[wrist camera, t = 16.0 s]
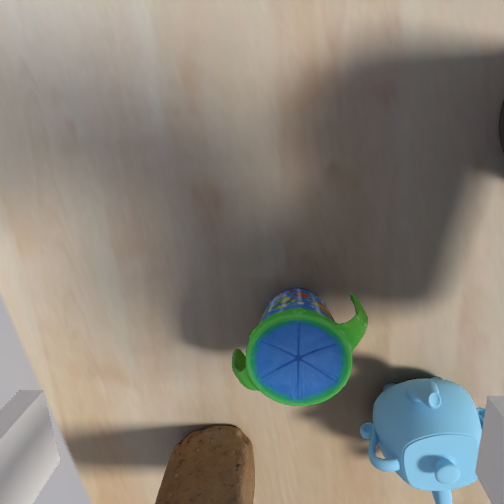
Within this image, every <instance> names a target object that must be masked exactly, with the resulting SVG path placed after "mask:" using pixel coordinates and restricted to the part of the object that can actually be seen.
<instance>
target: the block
mask: <svg viewBox="0 0 504 504" xmlns="http://www.w3.org/2000/svg"><path fill="white" fill-rule="evenodd" d="M254 488H255V467H254V456H253V447H252V444H251V441H250V440H249V438H248V437H246V436H245V434H244V433H243V432H242V430H241V429H239V428H237V427H232V426H213V427H209V428H206V429H204V430H198V431H195V432H192V433H190V434H189V435H187V437H186V438H185V439H184V440H182V441H181V442H180V443H179V444H177V445H176V447H175V448H174V450H173V452H172V455H171V457H170V460H169V462H168V465H167V468H166V471H165V474H164V477H163V480H162V483H161V486H160V489H159V492H158V496H157V499H156V503H155V504H253V498H254Z"/></svg>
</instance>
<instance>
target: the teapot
mask: <svg viewBox="0 0 504 504" xmlns="http://www.w3.org/2000/svg"><path fill="white" fill-rule="evenodd" d="M485 410H486V409H483V408H476V407H475V404H474V402H473V400H472V398H471V397H470V395H469V394H468V392H467V391H466V390H465V389H464V388H463V387H461V386H460V385H458V384H456V383H453V382H450V381H447V380H443V379H442V378H440V377H431V378H429V379H427V378H424V379H413V380H408V381H404V382H401V383H398V384H395V383H389V384H387V385H385V386H384V388H383V392H382V393H381V394H380V395H379V396H378V398H377V400H376V401H375V403H374V407H373V423H371V422H367V423H364V424H363V425H362V426H361V428H360V434H361V436H362V437H363V438H364V439H370V442H369V447H368V455H369V459H370V461H371V463H372V464H373V466H374V467H376V468H377V469H379V470H382V471H387V472H393V471H395V472H396V473H397V474H398V475H399V476H400V477H401V478H402V479H403V480H404V481H405V482H407V483H408V484H409V485H410V486H412V487H414V488H416V489H420V490H428V491H432V493H433V496H434V500H435V502H436V504H452V493H451V489H456V488H460V487H464V486H467V485H469V484H471V483H473V482H475V481H476V480H477V479H478V477H477V475H476V473H475V470H476V464H477V458H478V452H479V446H480V440H481V434H482V428H483V422H484V416H485ZM377 442H378V444H379V447H380V449H381V451H382V453H383V455H384V457H385V459H381V458H379V457H377V456H376V455H375V450H376V445H377Z"/></svg>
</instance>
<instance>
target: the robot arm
mask: <svg viewBox="0 0 504 504" xmlns="http://www.w3.org/2000/svg"><path fill="white" fill-rule="evenodd" d="M499 131H500V140H501V145H502V148H503V151H504V103H503V106H502V110H501V115H500V125H499ZM59 462H60V458H59V453H58V449H57V445H56V441H55V437H54V433H53V428H52V424H51V420H50V416H49V411H48V407H47V403H46V399H45V395H44V391H43V390H20V391H19V392H18V393H17V394H16V395H15V396H14V397H13V398H12V399H11V400H10V401H9V402H8V403H7V404H6V405H5V406H4V407H3V408H2V409H1V410H0V504H33V502H34V501H35V499H36V498H37V496H38V494H39V493H40V491H41V490H42V488H43V487H44V485H45V484H46V482H47V481H48V479H49V477H50V476H51V474H52V473H53V471H54V470H55V468H56V467H57V465H58V464H59ZM475 473H476V475H477V477H478V479H479V481H480V482H481V484H482V486H483V488H484V490H485V492H486V494H487V496H488V497H489V499H490V501H491V503H492V504H504V396H488V398H487V404H486V410H485V416H484V422H483V428H482V434H481V440H480V446H479V452H478V458H477V464H476V470H475Z"/></svg>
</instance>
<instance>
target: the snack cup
mask: <svg viewBox="0 0 504 504" xmlns="http://www.w3.org/2000/svg"><path fill="white" fill-rule="evenodd" d="M350 298H351V300H352V302H353V303H354V306H355V310H356V315H355V316H354V317H353V318H352V319H351V320H350V321H348V322H346V323H342V324H338V323H335V321H334V319H333V317H332V315H331V314H330V312H329V310H328V309H327V307H326V305H325V304H324V302H323V301H322V300H321V299H320V298H319V297H318V296H316V295H315V294H314V293H312V292H310V291H307V290H303V289H300V288H293V289H290V290H285V291H282V292H281V293H279V294H278V295H277V296H275V297H274V298H273V299H272V300H271V301H270V302H269V304H268V306H267V308H266V309H265V311H264V313H263V316H262V318H261V320H260V322H259V325H258V326H257V327H256V328H254V329H253V331H252V332H251V334H250V335H249V342H248V345H247V349H246V357H245V356H244V354H243V353H242V351H241V350H240V349H235V351H234V352H233V356H232V368H233V372H234V374H235V375H236V377H237V378H238V379H239V381H240V382H241V383H242V384H243V386H245V387H246V388H248V389H251V390H258V391H261V392H262V393H263V394H264V395H266V396H267V397H269V398H271V399H272V400H274V401H277V402H279V403H282V404H286V405H292V406H309V405H314V404H318V403H321V402H324V401H326V400H328V399H330V398H331V397H333V396H334V395H335V394H337V393H338V392H339V391H340V390H341V389H342V388H343V387H344V386H345V385H346V383H347V380H348V379H349V376H350V373H351V370H352V352H353V349H354V348H355V347H356V346H357V344H358V343H359V342H360V340H361V339H362V337H363V335H364V334H365V331H366V328H367V323H368V317H367V315H366V313H365V311H364V309H363V307H362V306H361V304H360V302H359V300H358V299H357V297H356V296H355V295H354V294H350Z"/></svg>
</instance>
